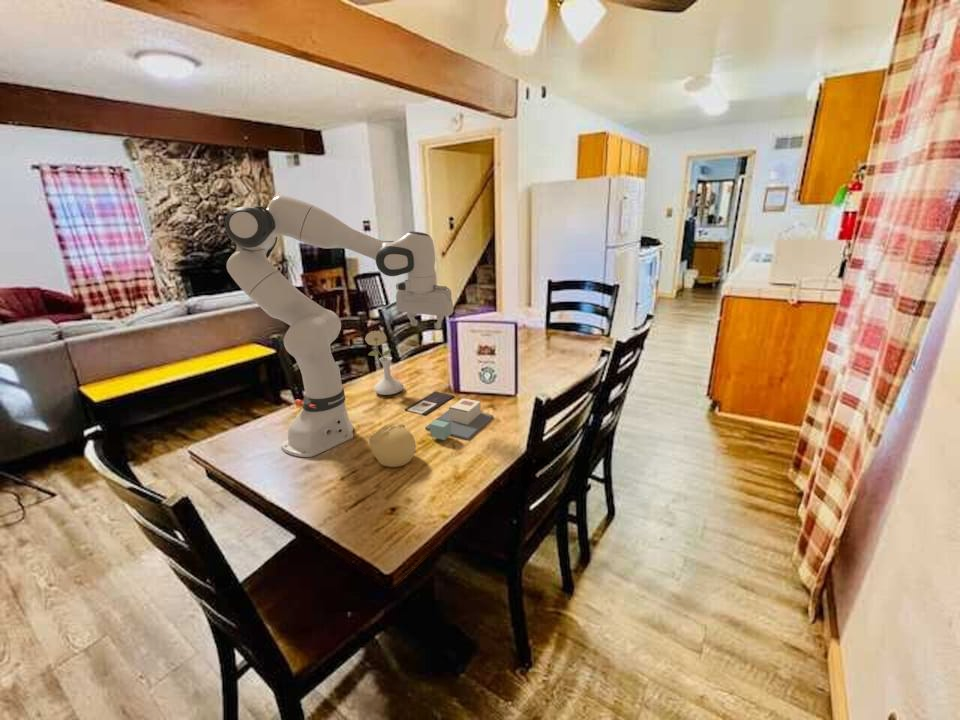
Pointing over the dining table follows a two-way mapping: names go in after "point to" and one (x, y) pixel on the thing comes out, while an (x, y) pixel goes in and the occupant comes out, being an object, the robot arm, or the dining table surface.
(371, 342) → the flower in vase
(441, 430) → the stub
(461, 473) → the dining table surface
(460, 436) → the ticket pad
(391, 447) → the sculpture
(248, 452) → the dining table surface
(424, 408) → the chocolate bar
